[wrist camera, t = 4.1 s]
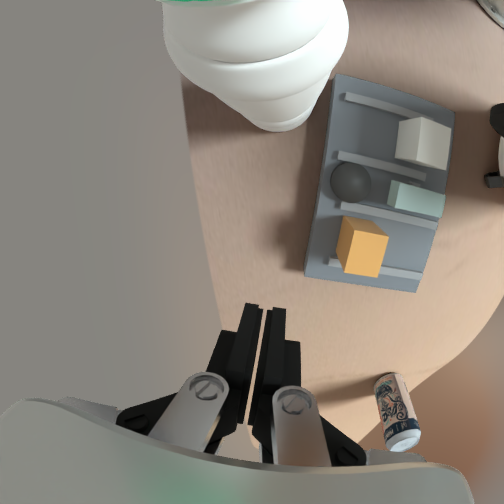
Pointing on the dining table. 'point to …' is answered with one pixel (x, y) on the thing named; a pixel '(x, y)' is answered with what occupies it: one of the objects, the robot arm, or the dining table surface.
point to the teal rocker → (415, 199)
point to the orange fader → (361, 246)
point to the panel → (373, 182)
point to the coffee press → (500, 120)
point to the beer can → (396, 413)
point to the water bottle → (258, 53)
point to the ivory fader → (423, 143)
